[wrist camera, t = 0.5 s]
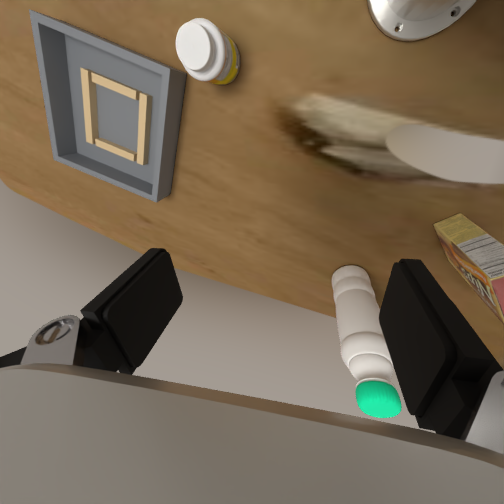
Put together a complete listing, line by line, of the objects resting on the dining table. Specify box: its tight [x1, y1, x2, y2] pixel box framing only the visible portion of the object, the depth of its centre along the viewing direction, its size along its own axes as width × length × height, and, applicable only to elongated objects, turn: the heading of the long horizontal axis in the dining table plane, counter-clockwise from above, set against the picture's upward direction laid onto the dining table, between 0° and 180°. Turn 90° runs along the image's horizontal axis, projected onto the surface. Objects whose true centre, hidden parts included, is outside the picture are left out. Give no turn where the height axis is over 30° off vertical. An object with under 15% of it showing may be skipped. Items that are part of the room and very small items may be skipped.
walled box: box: [29, 9, 187, 202], centre depth 38 cm, size 20×20×5 cm
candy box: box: [433, 213, 504, 324], centre depth 33 cm, size 9×4×15 cm, turn 38°
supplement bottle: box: [176, 18, 240, 85], centre depth 29 cm, size 6×6×10 cm
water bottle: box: [332, 265, 401, 418], centre depth 37 cm, size 7×7×25 cm
